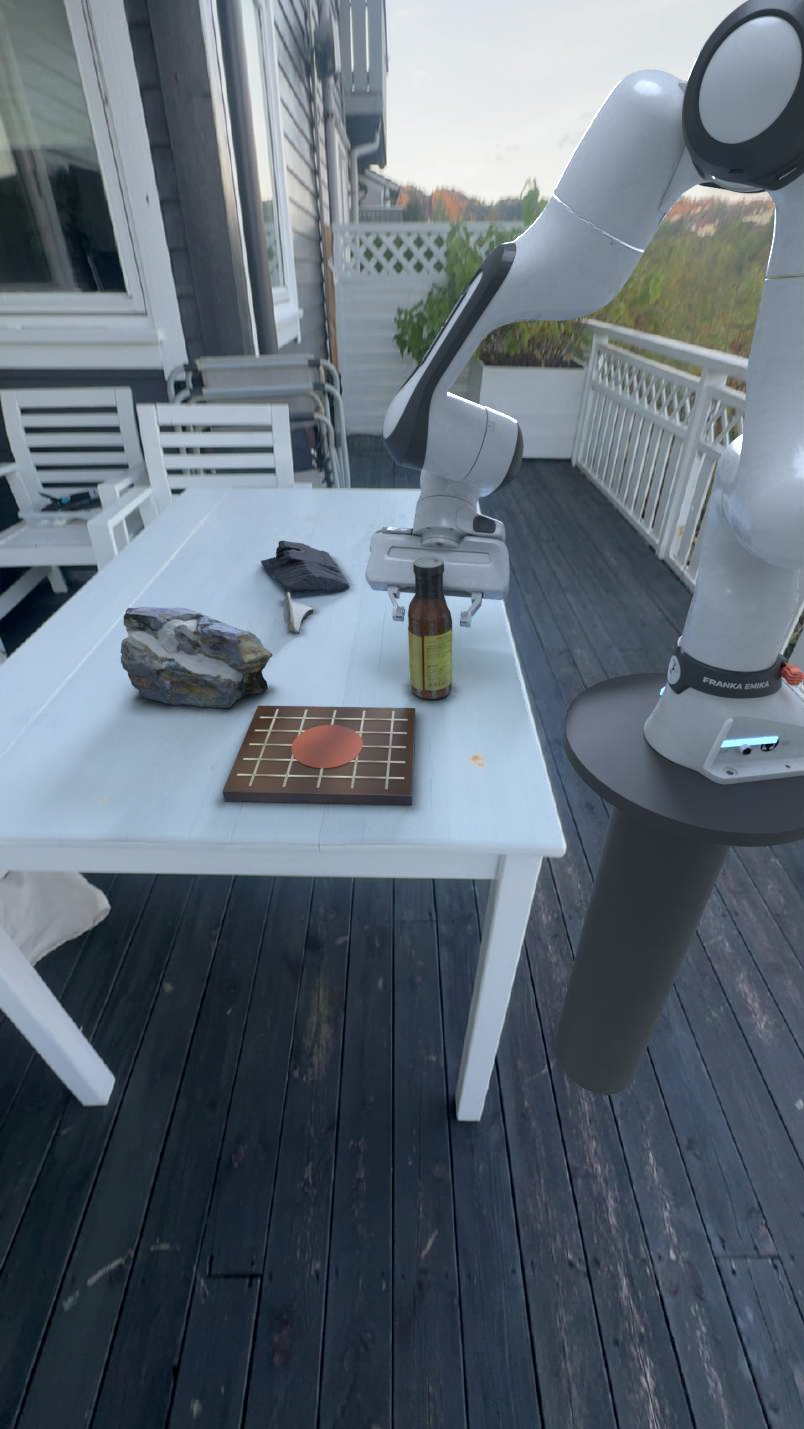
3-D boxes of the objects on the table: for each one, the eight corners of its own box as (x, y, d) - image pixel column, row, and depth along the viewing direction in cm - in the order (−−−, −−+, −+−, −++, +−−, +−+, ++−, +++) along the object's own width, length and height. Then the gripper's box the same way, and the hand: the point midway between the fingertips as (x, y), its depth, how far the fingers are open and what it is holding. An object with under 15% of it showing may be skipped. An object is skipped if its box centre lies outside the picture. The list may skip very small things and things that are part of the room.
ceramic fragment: (284, 601, 119) (281, 582, 117) (311, 599, 120) (309, 580, 117) (287, 636, 108) (284, 616, 106) (317, 633, 109) (315, 613, 106)
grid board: (415, 716, 87) (415, 707, 86) (411, 805, 72) (411, 795, 71) (259, 714, 88) (257, 704, 87) (224, 801, 73) (221, 790, 72)
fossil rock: (274, 705, 96) (278, 624, 87) (247, 744, 89) (249, 661, 79) (152, 667, 98) (144, 583, 88) (117, 703, 91) (103, 616, 81)
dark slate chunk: (277, 602, 118) (274, 579, 116) (259, 563, 136) (256, 541, 133) (355, 591, 123) (353, 568, 120) (328, 554, 140) (326, 533, 137)
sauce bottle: (457, 684, 94) (464, 557, 83) (442, 705, 89) (447, 573, 78) (417, 675, 96) (418, 550, 85) (401, 695, 92) (399, 566, 80)
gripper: (368, 515, 88) (353, 609, 85) (515, 524, 84) (504, 621, 82) (376, 536, 94) (363, 624, 91) (514, 545, 90) (503, 636, 88)
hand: (431, 623), depth 87 cm, fingers open, 8 cm apart
